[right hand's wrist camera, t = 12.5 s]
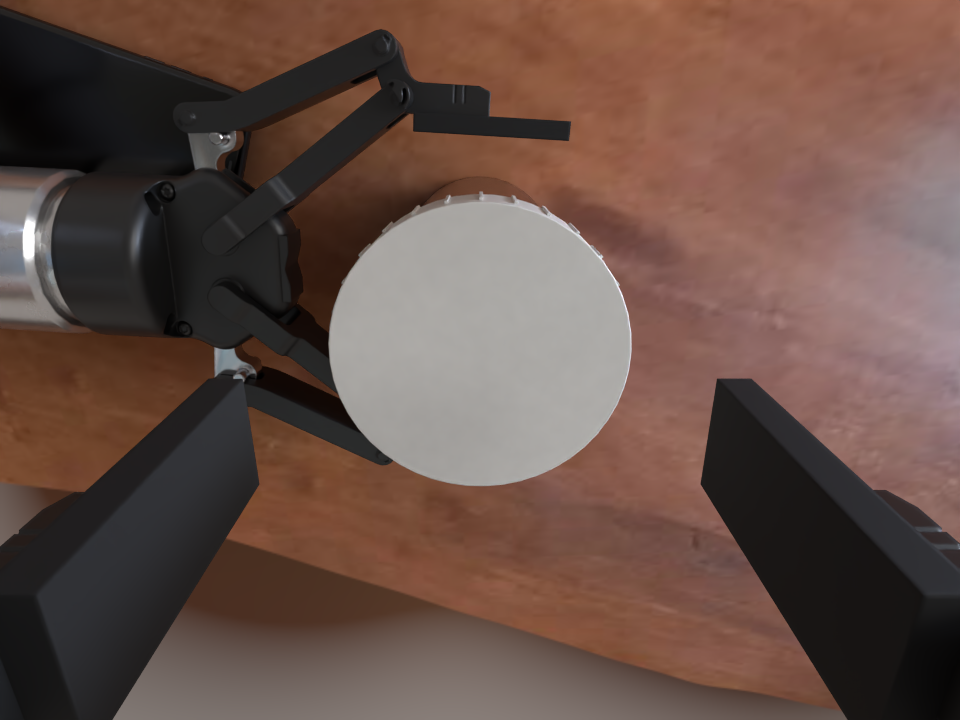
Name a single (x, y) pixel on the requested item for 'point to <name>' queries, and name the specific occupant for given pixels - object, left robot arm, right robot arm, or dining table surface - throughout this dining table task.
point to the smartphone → (94, 104)
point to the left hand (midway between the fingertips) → (551, 279)
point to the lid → (479, 341)
